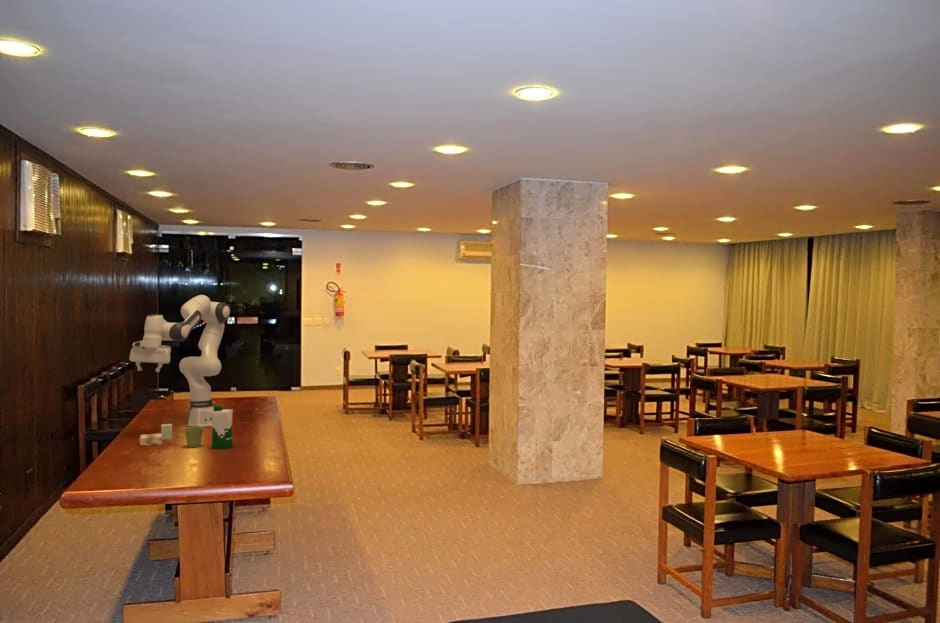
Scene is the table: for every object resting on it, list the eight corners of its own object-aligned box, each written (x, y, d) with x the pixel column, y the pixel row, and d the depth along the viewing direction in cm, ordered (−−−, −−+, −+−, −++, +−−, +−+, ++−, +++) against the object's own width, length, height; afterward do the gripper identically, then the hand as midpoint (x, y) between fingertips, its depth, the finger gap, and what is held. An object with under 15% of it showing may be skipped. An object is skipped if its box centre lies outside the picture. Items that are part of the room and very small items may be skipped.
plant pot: (179, 447, 348) (179, 429, 348) (194, 443, 357) (194, 426, 356) (192, 449, 344) (192, 431, 344) (208, 445, 352) (207, 428, 352)
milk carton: (218, 444, 354) (218, 404, 353) (235, 445, 352) (235, 405, 351) (209, 448, 345) (208, 407, 345) (225, 449, 343) (225, 408, 343)
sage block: (172, 437, 373) (172, 423, 373) (172, 438, 368) (171, 425, 368) (161, 437, 371) (161, 424, 371) (161, 439, 366) (161, 426, 366)
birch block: (162, 441, 364) (162, 433, 364) (161, 444, 355) (161, 436, 355) (140, 442, 361) (140, 434, 360) (139, 446, 351) (139, 438, 351)
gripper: (173, 346, 371) (170, 372, 370) (135, 344, 372) (132, 370, 370) (168, 345, 365) (165, 372, 363) (129, 343, 366) (126, 369, 364)
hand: (148, 371), depth 367 cm, fingers open, 8 cm apart
